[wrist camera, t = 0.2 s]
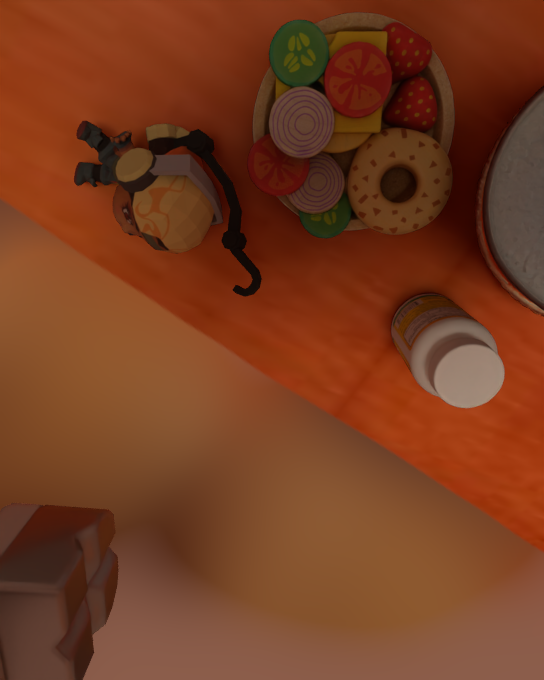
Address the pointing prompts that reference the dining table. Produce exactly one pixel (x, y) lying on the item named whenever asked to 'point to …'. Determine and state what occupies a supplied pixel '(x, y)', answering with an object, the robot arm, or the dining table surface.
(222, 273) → the dining table surface
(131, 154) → the toy
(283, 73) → the toy food set
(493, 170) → the food container
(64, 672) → the robot arm
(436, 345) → the supplement bottle
